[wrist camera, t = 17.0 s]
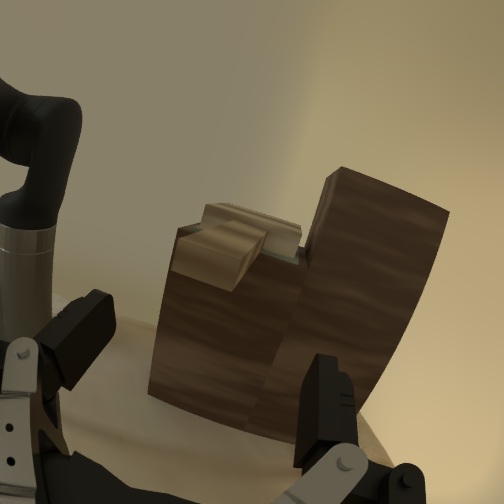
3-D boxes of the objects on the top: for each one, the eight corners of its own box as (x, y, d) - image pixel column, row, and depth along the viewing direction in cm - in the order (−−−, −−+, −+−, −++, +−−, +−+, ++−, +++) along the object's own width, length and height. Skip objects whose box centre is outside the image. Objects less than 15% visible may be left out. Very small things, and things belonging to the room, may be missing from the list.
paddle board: (291, 311, 15) (308, 266, 14) (122, 251, 15) (130, 209, 15) (294, 243, 38) (300, 225, 37) (223, 220, 39) (228, 203, 38)
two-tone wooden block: (330, 450, 30) (449, 211, 23) (147, 393, 32) (206, 128, 25) (325, 393, 43) (404, 207, 36) (183, 347, 45) (235, 150, 38)
